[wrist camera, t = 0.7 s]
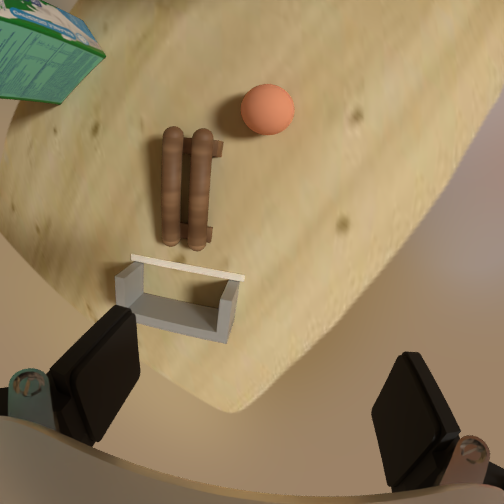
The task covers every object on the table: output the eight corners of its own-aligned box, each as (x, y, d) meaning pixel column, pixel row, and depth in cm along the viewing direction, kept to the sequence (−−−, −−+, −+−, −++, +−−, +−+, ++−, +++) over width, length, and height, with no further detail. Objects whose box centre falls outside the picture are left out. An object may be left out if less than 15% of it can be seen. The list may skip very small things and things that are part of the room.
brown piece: (174, 128, 30) (158, 124, 25) (224, 132, 29) (215, 128, 25) (163, 241, 34) (147, 253, 29) (210, 249, 33) (199, 262, 29)
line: (131, 253, 34) (131, 253, 34) (244, 274, 34) (244, 275, 34) (131, 259, 35) (131, 260, 35) (244, 281, 34) (243, 281, 34)
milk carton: (107, 56, 27) (-59, 1, 4) (60, 105, 30) (-104, 101, 6) (83, 20, 26) (-53, -34, 2) (40, 66, 28) (-99, 47, 4)
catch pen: (134, 261, 35) (114, 276, 30) (239, 281, 34) (232, 301, 29) (135, 298, 36) (117, 317, 32) (234, 320, 36) (226, 343, 31)
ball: (248, 88, 28) (241, 75, 23) (296, 94, 27) (298, 82, 23) (241, 133, 29) (232, 128, 24) (289, 140, 29) (290, 136, 24)
